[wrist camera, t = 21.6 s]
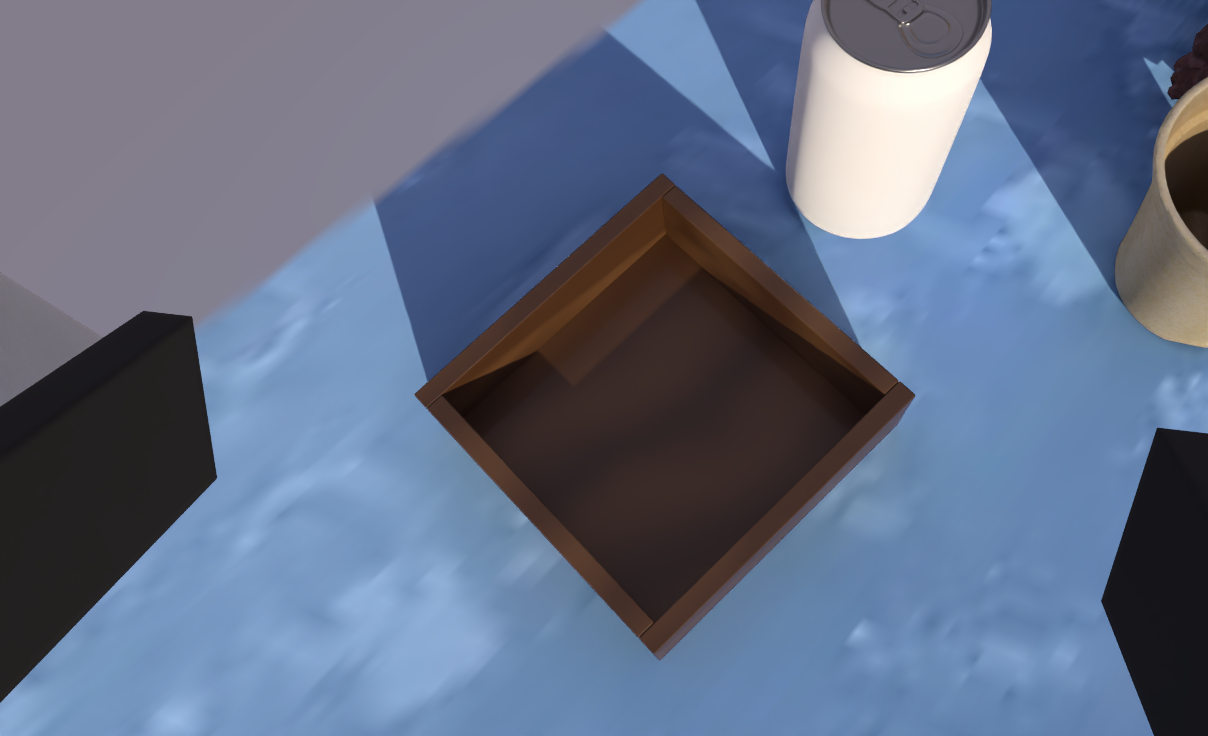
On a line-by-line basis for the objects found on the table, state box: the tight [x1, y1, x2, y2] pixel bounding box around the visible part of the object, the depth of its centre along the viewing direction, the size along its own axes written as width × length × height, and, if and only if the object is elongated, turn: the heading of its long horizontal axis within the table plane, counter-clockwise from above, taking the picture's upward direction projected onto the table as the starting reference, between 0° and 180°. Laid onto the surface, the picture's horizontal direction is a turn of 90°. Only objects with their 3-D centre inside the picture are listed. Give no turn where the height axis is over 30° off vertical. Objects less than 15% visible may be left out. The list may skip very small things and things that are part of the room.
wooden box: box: [415, 174, 915, 660], centre depth 41 cm, size 14×14×4 cm
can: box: [786, 0, 992, 239], centre depth 40 cm, size 6×6×12 cm
